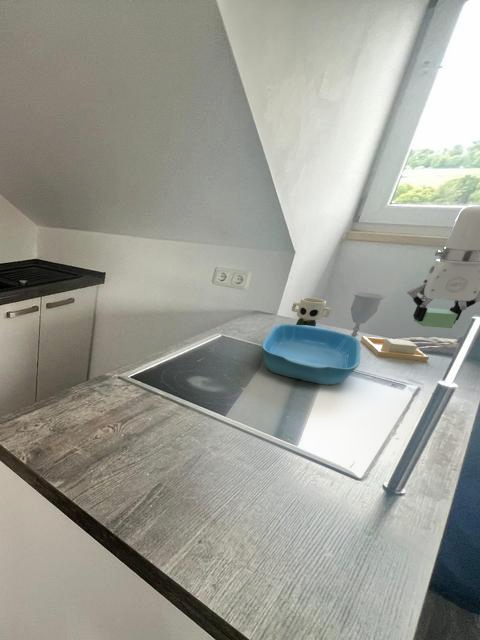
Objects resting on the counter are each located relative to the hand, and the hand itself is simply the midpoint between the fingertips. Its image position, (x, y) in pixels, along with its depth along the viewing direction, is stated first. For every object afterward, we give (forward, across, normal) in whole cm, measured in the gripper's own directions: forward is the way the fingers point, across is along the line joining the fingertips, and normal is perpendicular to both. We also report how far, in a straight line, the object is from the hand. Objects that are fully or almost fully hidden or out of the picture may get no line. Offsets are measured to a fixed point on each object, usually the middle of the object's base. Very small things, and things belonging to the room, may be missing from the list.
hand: (433, 320), depth 109 cm
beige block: (+14, -1, +9) cm, 16 cm away
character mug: (+14, -23, +20) cm, 34 cm away
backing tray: (+14, -1, +12) cm, 19 cm away
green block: (+1, 0, 0) cm, 1 cm away
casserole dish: (+14, -28, -9) cm, 33 cm away
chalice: (+14, -12, +11) cm, 22 cm away
